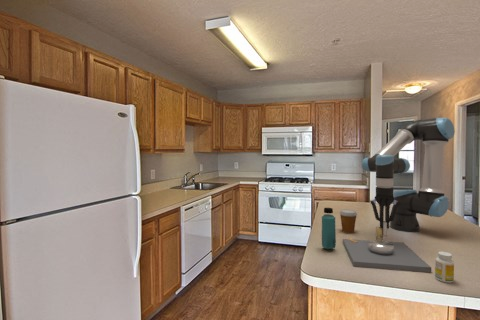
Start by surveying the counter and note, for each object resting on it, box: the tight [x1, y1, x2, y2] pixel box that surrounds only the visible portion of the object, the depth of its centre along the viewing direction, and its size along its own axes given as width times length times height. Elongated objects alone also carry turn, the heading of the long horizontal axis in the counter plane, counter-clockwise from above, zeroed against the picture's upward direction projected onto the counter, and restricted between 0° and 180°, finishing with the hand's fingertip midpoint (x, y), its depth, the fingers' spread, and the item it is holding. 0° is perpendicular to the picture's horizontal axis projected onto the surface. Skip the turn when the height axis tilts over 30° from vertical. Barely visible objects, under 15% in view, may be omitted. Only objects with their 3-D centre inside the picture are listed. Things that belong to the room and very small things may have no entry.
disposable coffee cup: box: [339, 208, 358, 234], centre depth 152 cm, size 10×10×12 cm
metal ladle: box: [368, 226, 394, 255], centre depth 121 cm, size 19×10×7 cm, turn 155°
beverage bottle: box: [321, 207, 337, 250], centre depth 125 cm, size 6×7×20 cm
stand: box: [342, 238, 432, 273], centre depth 118 cm, size 28×28×2 cm
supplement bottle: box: [434, 251, 455, 284], centre depth 95 cm, size 5×5×10 cm
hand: (384, 234), depth 127 cm, fingers closed
